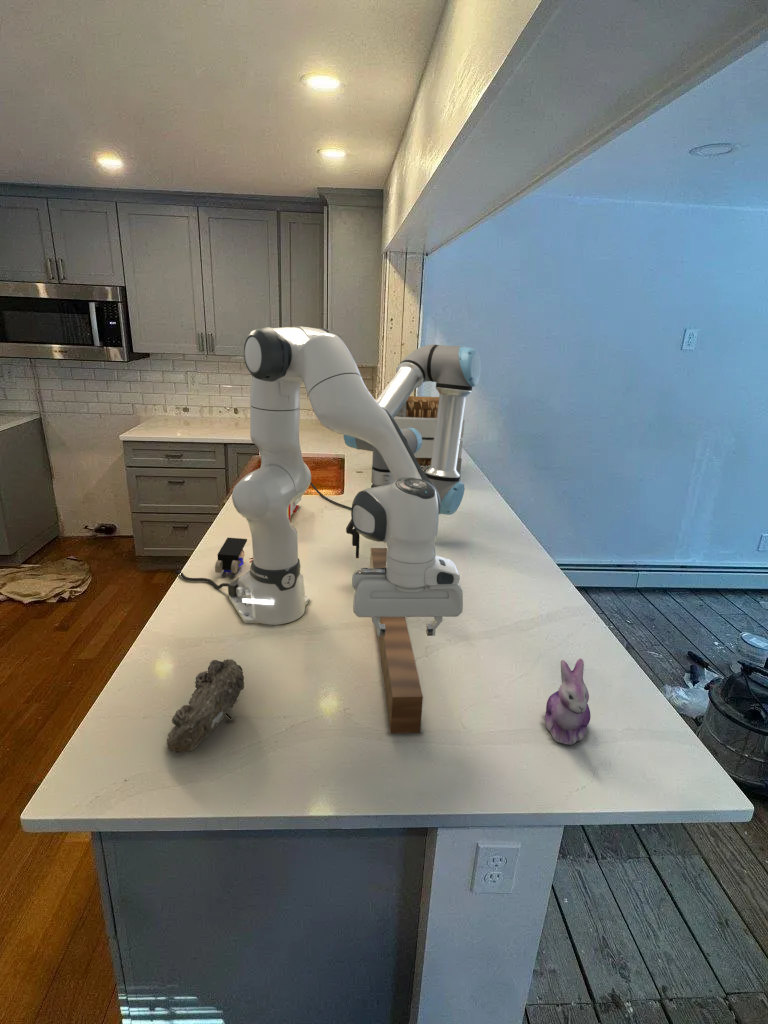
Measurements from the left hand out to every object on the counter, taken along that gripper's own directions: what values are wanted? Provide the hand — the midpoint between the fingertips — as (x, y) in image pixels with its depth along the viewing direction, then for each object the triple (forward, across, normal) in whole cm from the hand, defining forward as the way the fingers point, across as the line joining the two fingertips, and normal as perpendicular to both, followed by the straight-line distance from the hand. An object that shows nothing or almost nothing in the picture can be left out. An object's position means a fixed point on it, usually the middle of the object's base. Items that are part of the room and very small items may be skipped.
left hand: (405, 634), depth 107 cm
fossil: (+17, -36, -2) cm, 40 cm away
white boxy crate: (+17, +28, +171) cm, 174 cm away
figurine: (+17, +31, -7) cm, 36 cm away
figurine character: (+17, -43, +63) cm, 78 cm away
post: (+17, 0, +27) cm, 32 cm away
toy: (+17, -33, +108) cm, 114 cm away
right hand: (+8, 0, +54) cm, 54 cm away
